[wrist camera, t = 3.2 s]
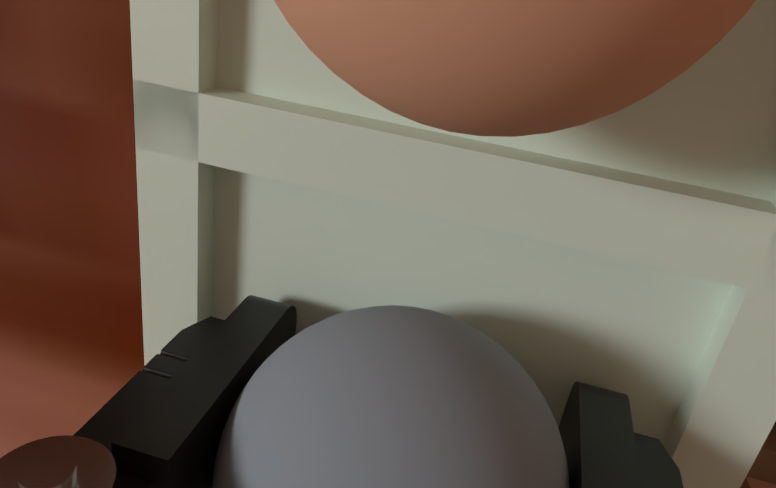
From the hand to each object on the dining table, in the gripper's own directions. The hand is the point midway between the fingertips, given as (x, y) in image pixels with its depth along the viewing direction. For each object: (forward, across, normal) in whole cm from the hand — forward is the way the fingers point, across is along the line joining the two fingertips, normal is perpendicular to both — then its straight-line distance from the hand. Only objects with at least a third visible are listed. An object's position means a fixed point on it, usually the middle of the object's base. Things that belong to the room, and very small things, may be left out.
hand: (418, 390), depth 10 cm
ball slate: (0, 0, 0) cm, 0 cm away
